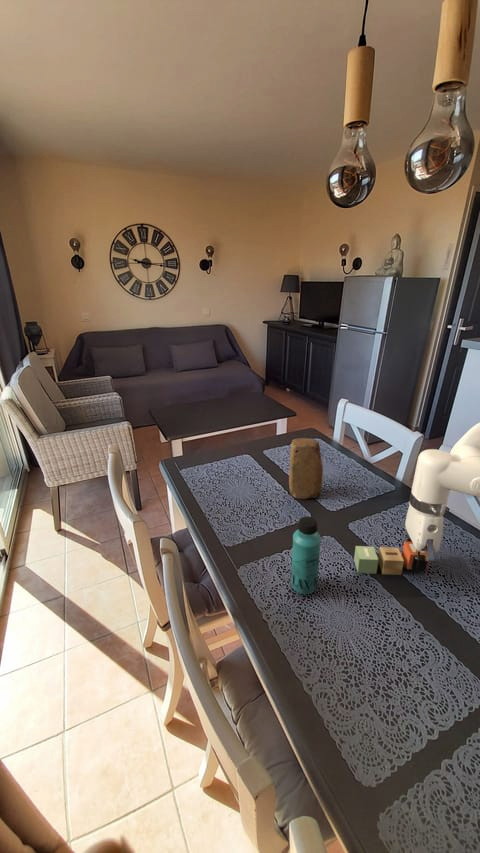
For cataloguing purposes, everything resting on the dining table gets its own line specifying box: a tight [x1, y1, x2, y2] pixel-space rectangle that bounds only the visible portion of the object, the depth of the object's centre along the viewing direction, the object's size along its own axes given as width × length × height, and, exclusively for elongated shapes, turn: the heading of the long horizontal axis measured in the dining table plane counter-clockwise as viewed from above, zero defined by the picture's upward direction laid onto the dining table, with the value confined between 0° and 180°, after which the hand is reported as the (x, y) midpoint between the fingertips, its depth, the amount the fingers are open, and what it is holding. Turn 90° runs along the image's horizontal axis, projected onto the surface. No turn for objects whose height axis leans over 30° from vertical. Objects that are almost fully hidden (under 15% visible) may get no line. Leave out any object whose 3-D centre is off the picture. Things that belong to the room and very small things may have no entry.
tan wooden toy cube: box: [377, 546, 405, 576], centre depth 91 cm, size 5×5×5 cm
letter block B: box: [353, 545, 379, 575], centre depth 91 cm, size 5×5×5 cm
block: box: [288, 437, 324, 500], centre depth 119 cm, size 11×8×20 cm
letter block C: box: [401, 541, 429, 571], centre depth 89 cm, size 5×5×5 cm
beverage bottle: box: [289, 515, 322, 595], centre depth 83 cm, size 6×7×20 cm
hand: (414, 561), depth 90 cm, fingers closed on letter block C, 4 cm apart
